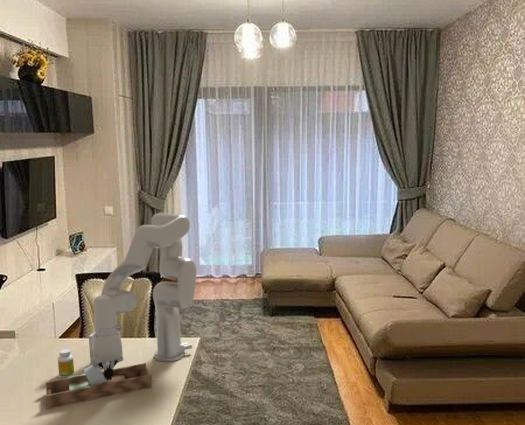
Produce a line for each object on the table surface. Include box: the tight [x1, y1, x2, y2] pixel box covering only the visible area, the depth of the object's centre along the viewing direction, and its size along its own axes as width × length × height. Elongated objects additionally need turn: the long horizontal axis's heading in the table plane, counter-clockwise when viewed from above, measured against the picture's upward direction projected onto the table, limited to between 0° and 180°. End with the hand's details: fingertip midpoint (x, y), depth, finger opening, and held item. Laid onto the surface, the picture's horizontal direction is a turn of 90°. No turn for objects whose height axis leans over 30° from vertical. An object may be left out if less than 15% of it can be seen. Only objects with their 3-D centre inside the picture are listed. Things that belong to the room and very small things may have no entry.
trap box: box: [45, 362, 153, 410], centre depth 172 cm, size 35×11×5 cm, turn 114°
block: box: [83, 364, 106, 386], centre depth 171 cm, size 5×5×6 cm
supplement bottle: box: [57, 348, 75, 379], centre depth 184 cm, size 5×5×10 cm
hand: (108, 378), depth 173 cm, fingers closed
